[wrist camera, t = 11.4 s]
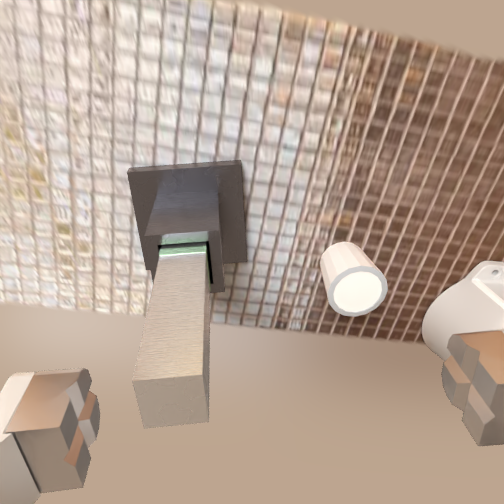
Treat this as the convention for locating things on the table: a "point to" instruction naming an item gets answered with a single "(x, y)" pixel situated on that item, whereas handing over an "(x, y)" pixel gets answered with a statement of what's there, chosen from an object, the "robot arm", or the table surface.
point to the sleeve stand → (191, 211)
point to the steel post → (176, 340)
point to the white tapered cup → (351, 280)
